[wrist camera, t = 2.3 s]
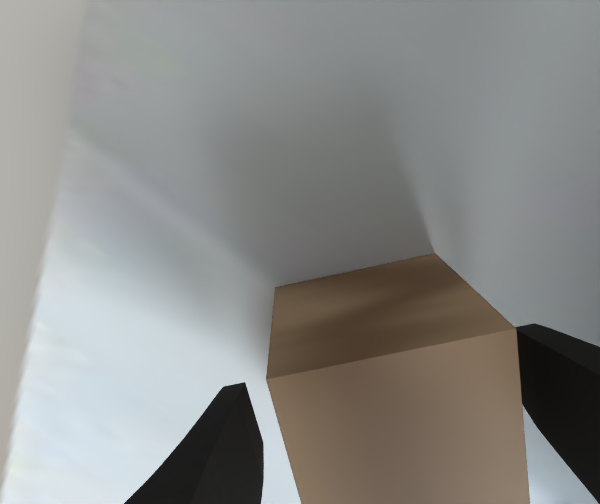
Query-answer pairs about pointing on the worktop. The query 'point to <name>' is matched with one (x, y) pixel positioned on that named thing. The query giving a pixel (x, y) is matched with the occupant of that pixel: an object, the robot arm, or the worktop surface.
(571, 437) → the robot arm
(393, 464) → the walnut block
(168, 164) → the worktop surface
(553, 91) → the worktop surface
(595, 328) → the worktop surface
